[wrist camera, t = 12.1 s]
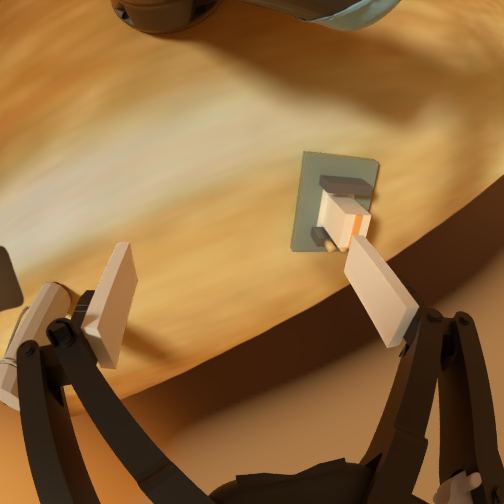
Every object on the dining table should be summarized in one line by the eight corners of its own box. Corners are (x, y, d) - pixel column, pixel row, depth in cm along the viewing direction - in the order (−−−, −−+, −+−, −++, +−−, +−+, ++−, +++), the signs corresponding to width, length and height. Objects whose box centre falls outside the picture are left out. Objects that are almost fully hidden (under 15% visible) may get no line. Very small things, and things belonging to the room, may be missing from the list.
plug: (327, 194, 43) (346, 214, 36) (350, 196, 43) (372, 216, 37) (321, 224, 45) (338, 248, 39) (344, 225, 46) (363, 248, 40)
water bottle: (69, 280, 46) (18, 393, 25) (76, 311, 50) (38, 419, 29) (30, 274, 44) (-26, 375, 23) (39, 305, 48) (-5, 403, 27)
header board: (303, 151, 40) (319, 163, 34) (374, 159, 42) (397, 173, 36) (290, 247, 49) (301, 271, 43) (354, 246, 50) (371, 269, 44)
